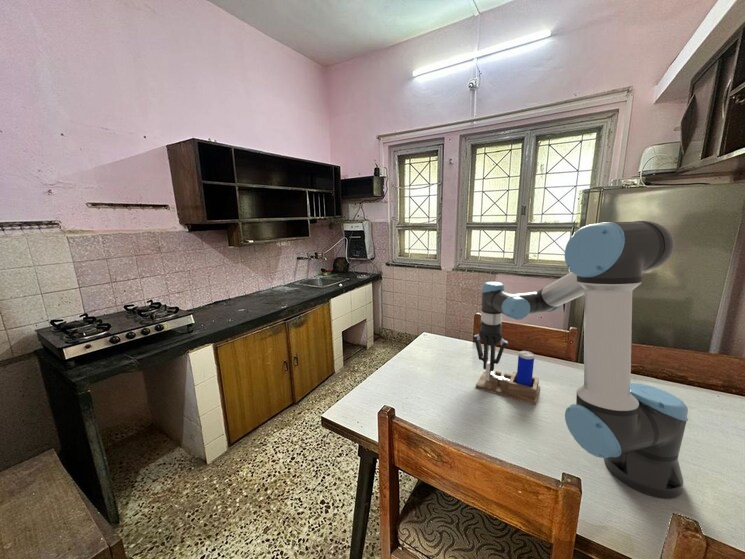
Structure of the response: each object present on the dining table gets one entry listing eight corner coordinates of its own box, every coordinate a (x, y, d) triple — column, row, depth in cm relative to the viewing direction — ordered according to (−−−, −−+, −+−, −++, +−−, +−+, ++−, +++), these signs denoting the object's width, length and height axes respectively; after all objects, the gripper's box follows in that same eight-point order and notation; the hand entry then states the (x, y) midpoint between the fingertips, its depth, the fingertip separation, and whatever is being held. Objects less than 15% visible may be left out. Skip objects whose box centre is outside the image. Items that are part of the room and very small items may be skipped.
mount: (535, 405, 104) (536, 392, 103) (475, 387, 116) (476, 375, 115) (539, 388, 114) (541, 376, 113) (483, 373, 126) (484, 362, 125)
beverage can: (527, 386, 114) (531, 350, 111) (533, 394, 109) (536, 357, 106) (513, 385, 115) (516, 350, 111) (518, 393, 110) (521, 356, 106)
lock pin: (507, 387, 114) (508, 379, 113) (488, 382, 117) (489, 374, 117) (509, 383, 116) (509, 376, 115) (490, 378, 120) (491, 371, 119)
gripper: (511, 321, 113) (507, 377, 118) (476, 316, 120) (474, 368, 125) (507, 328, 107) (503, 386, 112) (471, 321, 114) (468, 376, 119)
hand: (488, 377), depth 119 cm, fingers closed
